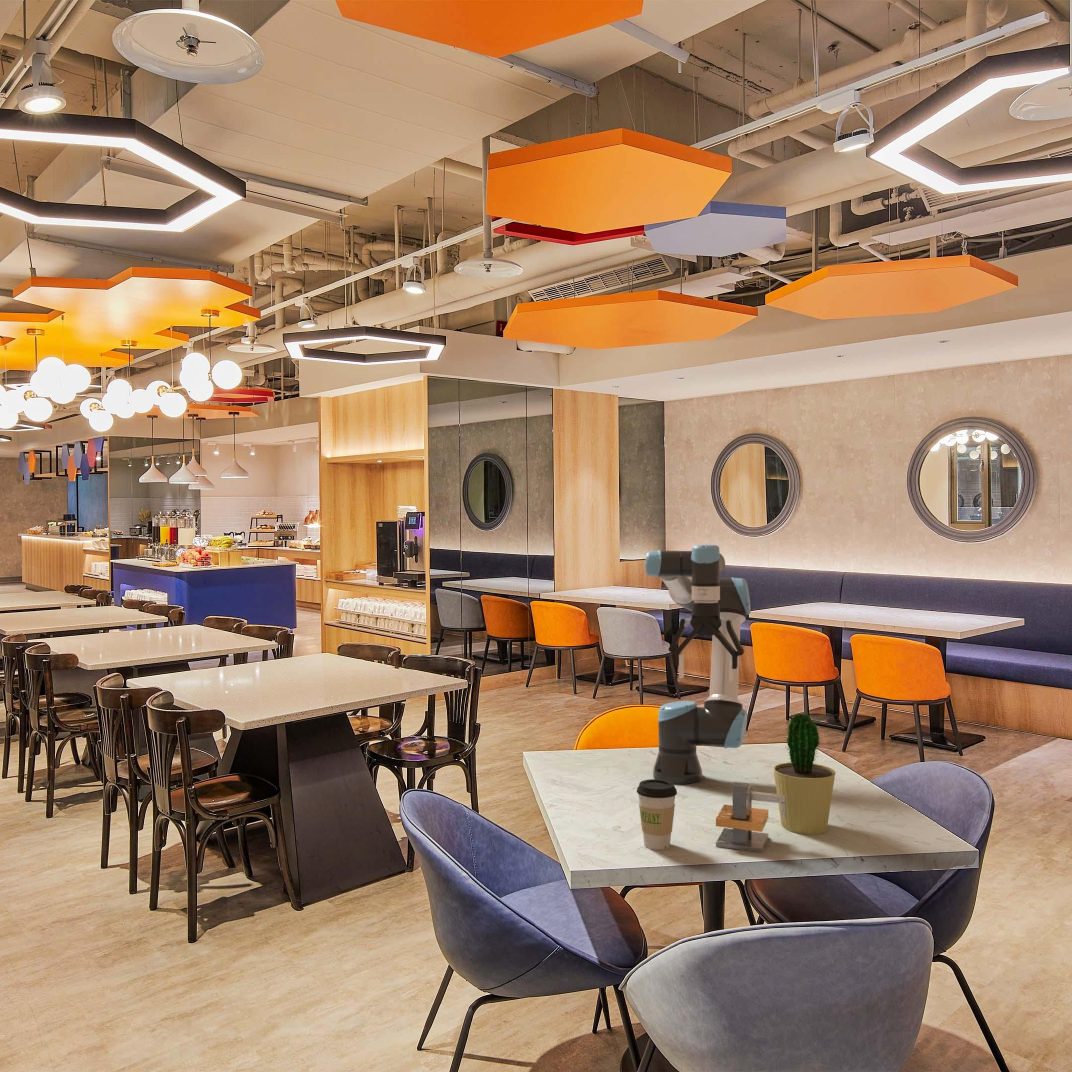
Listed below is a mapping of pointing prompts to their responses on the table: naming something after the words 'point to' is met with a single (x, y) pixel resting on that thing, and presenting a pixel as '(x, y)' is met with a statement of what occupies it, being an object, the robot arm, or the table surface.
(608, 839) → the table surface
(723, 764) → the table surface
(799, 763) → the potted cactus
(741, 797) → the gray rectangular bar
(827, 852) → the table surface
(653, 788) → the coffee cup
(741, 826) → the tiered post stand
